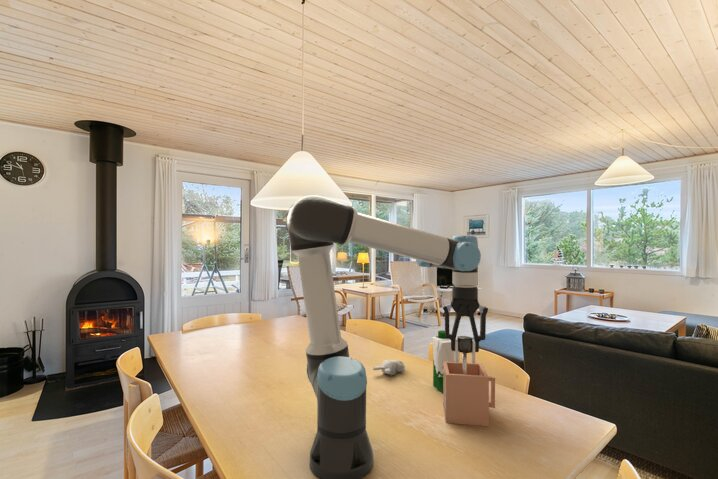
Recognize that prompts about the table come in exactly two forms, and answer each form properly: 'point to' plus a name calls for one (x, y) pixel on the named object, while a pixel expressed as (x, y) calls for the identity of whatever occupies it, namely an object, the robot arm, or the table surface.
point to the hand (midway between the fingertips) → (464, 361)
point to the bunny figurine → (391, 367)
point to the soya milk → (441, 358)
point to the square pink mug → (467, 394)
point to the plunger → (464, 349)
